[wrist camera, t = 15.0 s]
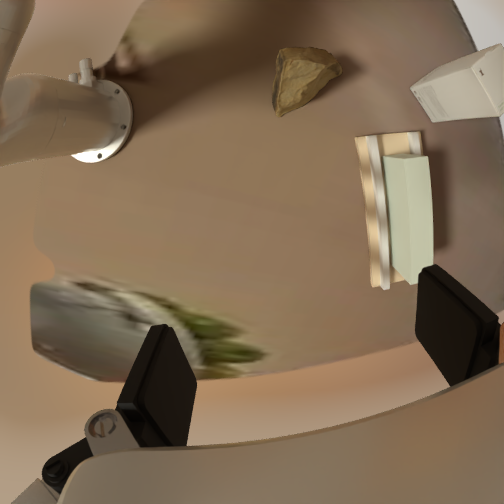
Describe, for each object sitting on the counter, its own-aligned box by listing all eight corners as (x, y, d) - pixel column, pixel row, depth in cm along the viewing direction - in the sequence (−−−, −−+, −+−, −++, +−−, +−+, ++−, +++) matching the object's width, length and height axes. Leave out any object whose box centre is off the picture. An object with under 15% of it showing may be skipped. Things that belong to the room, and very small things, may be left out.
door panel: (381, 156, 36) (403, 158, 30) (403, 153, 36) (427, 156, 30) (391, 264, 42) (410, 284, 35) (411, 260, 41) (432, 279, 35)
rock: (342, 36, 30) (266, 33, 29) (372, 58, 25) (282, 53, 25) (333, 102, 39) (266, 104, 38) (355, 135, 34) (278, 137, 34)
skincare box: (431, 123, 35) (499, 121, 21) (406, 85, 34) (469, 65, 19) (462, 98, 33) (529, 91, 18) (439, 62, 32) (502, 41, 17)
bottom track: (354, 137, 37) (360, 136, 34) (416, 131, 36) (425, 131, 33) (370, 284, 44) (376, 291, 42) (425, 271, 43) (432, 277, 41)
